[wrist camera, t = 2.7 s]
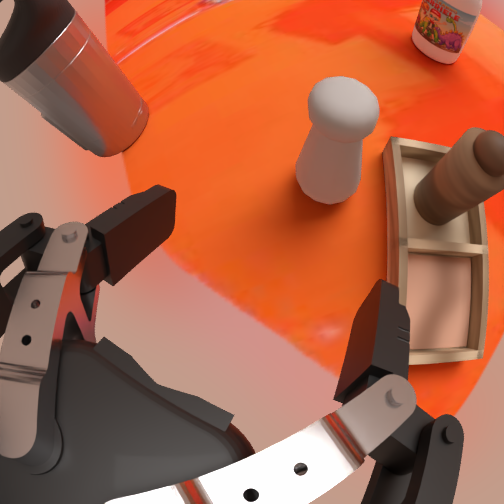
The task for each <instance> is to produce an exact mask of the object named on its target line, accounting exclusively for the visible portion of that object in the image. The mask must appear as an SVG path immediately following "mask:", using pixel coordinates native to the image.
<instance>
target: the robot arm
mask: <svg viewBox="0 0 504 504" xmlns="http://www.w3.org/2000/svg"><path fill="white" fill-rule="evenodd" d="M1 1H2V0H0V2H1ZM14 2H15V6H14V10H13V13H12V16H11V18H10V21H9V23H8V25H7V27H6V29H5V31H4V33H3V34H2V36H1V38H0V81H2V82H3V83H4V84H6V85H7V86H8V87H9V88H11V89H12V90H14V91H15V92H16V93H17V94H18V95H20V96H21V97H22V98H24V99H25V100H26V101H27V102H29V103H30V104H31V105H32V106H34V107H35V108H36V109H37V110H39V111H40V112H41V116H42V117H43V118H44V119H45V120H46V121H48V122H49V123H50V124H51V125H53V126H54V127H56V128H57V129H58V130H59V131H61V132H62V133H63V134H65V135H66V136H67V137H69V138H70V139H71V140H72V141H74V142H75V143H77V144H78V145H79V146H81V147H82V148H83V149H85V150H90V151H91V152H93V153H94V154H95V155H97V156H100V157H110V156H113V155H116V154H118V153H120V152H122V151H123V150H125V149H126V148H128V147H129V146H130V145H131V144H132V143H133V142H134V141H135V140H136V139H137V138H138V137H139V135H140V134H141V132H142V131H143V129H144V127H145V125H146V123H147V120H148V107H147V104H146V103H145V101H144V100H143V99H142V97H141V96H140V95H139V93H138V92H137V91H136V89H135V88H134V87H133V85H132V84H131V83H130V81H129V80H128V79H127V77H126V76H125V75H124V73H123V72H122V71H121V69H120V68H119V67H118V65H117V64H116V63H115V61H114V60H113V59H112V58H111V56H110V55H109V54H108V52H107V51H106V50H105V49H104V47H103V46H102V44H101V43H100V42H99V40H98V39H97V38H96V37H95V35H94V34H93V33H92V32H91V30H90V29H89V28H88V26H87V25H86V24H85V23H84V21H83V20H82V18H81V17H80V16H79V15H78V13H77V12H76V11H75V10H74V8H73V7H72V6H71V4H70V3H69V2H68V1H67V0H14ZM175 209H176V192H175V191H174V190H171V189H169V188H166V187H164V186H161V185H155V186H153V187H151V188H150V189H148V190H146V191H145V192H141V193H137V194H134V195H131V196H129V197H127V198H126V199H124V200H122V201H121V203H118V204H116V205H114V206H113V208H110V209H108V210H106V211H105V212H103V213H102V214H100V215H99V216H97V217H96V218H94V219H93V220H91V221H90V222H88V223H87V224H85V225H84V224H83V223H80V222H69V223H65V224H63V225H61V226H59V227H58V228H56V229H53V228H49V227H45V226H44V222H43V218H42V216H41V215H40V214H38V213H28V214H25V215H23V216H21V217H19V218H18V219H16V220H15V221H14V222H12V223H11V224H9V225H8V226H7V227H5V228H4V229H3V230H1V231H0V275H1V273H2V272H3V270H4V269H5V268H7V267H8V266H9V265H10V264H11V263H12V262H14V261H15V260H16V259H17V258H18V257H19V256H21V258H22V261H23V263H24V266H25V268H24V269H23V270H22V271H21V272H20V273H19V274H18V275H17V276H15V277H14V278H13V279H12V280H11V281H10V282H9V283H8V284H7V285H6V286H5V287H2V286H1V283H0V338H1V336H2V335H3V334H4V333H5V335H4V339H3V343H2V347H1V352H0V504H307V503H309V502H311V501H312V500H314V499H315V498H317V497H318V496H320V495H322V494H323V493H325V492H326V491H327V490H329V489H331V488H332V487H333V486H335V485H336V484H338V483H339V482H340V481H342V480H343V479H345V477H347V476H349V475H350V474H351V473H352V472H354V471H355V470H356V469H358V468H359V467H360V466H361V465H362V464H363V463H364V458H365V457H366V456H367V455H369V456H370V457H371V458H373V459H374V460H376V463H375V466H374V469H373V472H372V475H371V478H370V481H369V484H368V486H367V489H366V492H365V494H364V497H363V500H362V502H361V504H452V503H453V499H454V495H455V490H456V486H457V481H458V476H459V470H460V464H461V457H462V450H463V441H464V433H463V429H462V426H461V424H460V423H459V421H458V420H457V419H456V418H455V417H454V416H452V415H449V414H445V415H442V416H440V417H438V418H436V419H434V418H433V417H431V416H430V415H429V414H427V413H426V412H425V411H423V410H422V409H421V408H420V407H418V406H417V405H416V394H415V391H414V389H413V387H412V385H411V384H410V383H409V382H408V368H409V352H410V344H409V342H410V317H409V314H408V312H407V309H406V306H404V305H401V304H399V287H397V286H395V285H393V284H391V283H388V282H386V281H384V280H382V279H379V280H378V281H377V282H376V284H375V285H374V287H373V288H372V290H371V291H370V293H369V294H368V296H367V297H366V299H365V300H364V302H363V303H362V305H361V306H360V308H359V310H358V311H357V314H356V316H355V318H354V321H353V325H352V329H351V334H350V338H349V342H348V347H347V351H346V355H345V359H344V363H343V367H342V370H341V374H340V378H339V381H338V385H337V389H336V392H335V395H334V399H333V400H335V401H338V402H341V403H343V404H342V407H341V408H339V409H338V410H336V411H335V412H333V413H330V414H328V415H326V416H325V417H323V418H321V419H320V420H318V421H316V422H315V423H313V424H311V425H310V426H308V427H306V428H305V429H303V430H301V431H299V432H298V433H296V434H294V435H293V436H290V437H288V438H286V439H285V440H283V441H281V442H279V443H277V444H275V445H273V446H271V447H269V448H267V449H265V450H263V451H261V452H259V453H257V454H256V453H255V451H254V449H253V447H252V446H251V444H250V442H249V441H248V440H247V438H246V437H245V436H244V435H243V434H242V433H241V432H240V431H239V429H238V428H236V427H235V426H234V425H233V424H231V423H230V422H231V420H232V418H233V416H234V415H233V414H231V413H229V412H227V411H225V410H223V409H221V408H219V407H217V406H215V405H213V404H211V403H209V402H207V401H205V400H203V399H201V398H200V397H197V396H194V395H190V394H187V393H183V392H180V391H176V390H173V389H170V388H167V387H164V386H161V385H159V384H157V383H156V382H154V381H153V380H152V378H150V376H148V374H147V373H146V372H145V371H144V370H143V369H142V368H141V367H140V365H139V364H138V363H137V362H136V361H135V360H134V359H133V358H132V356H131V355H129V354H128V353H126V352H125V351H123V350H122V349H121V348H119V347H118V346H116V345H115V344H113V343H112V342H111V341H109V340H108V339H107V338H105V337H103V338H102V339H101V341H99V343H96V338H95V320H96V312H97V304H98V298H99V291H100V286H99V283H100V282H101V281H102V280H105V281H106V282H108V283H109V284H110V285H112V286H114V285H115V284H116V283H117V282H118V281H120V280H121V279H122V278H123V277H124V276H125V275H126V274H127V273H128V272H130V271H131V270H132V269H133V268H134V267H135V266H136V265H137V264H139V263H140V262H141V261H142V260H143V259H144V258H145V257H147V256H148V255H149V254H150V253H151V252H152V251H154V250H155V249H156V248H157V247H158V246H159V245H161V244H162V243H163V242H164V241H165V240H167V239H168V238H169V236H170V235H171V233H172V231H173V229H174V225H175Z"/></svg>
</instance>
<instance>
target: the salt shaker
mask: <svg viewBox="0 0 504 504" xmlns="http://www.w3.org/2000/svg"><path fill="white" fill-rule="evenodd" d="M308 110H309V118H310V120H311V122H312V123H313V125H312V128H311V130H310V132H309V134H308V137H307V139H306V141H305V144H304V146H303V148H302V151H301V153H300V155H299V158H298V160H297V162H296V179H297V181H298V183H299V185H300V187H301V189H302V191H303V193H305V194H306V195H308V196H309V197H310V198H312V199H313V200H315V201H317V202H321V203H325V204H329V205H330V204H334V203H339V202H344V201H345V200H346V199H347V198H349V197H350V196H351V195H353V194H354V193H355V192H356V190H357V187H358V185H359V182H360V180H361V165H362V141H363V139H364V138H365V137H367V136H368V135H369V134H371V133H372V132H373V130H374V128H375V125H376V123H377V120H378V117H379V105H378V101H377V97H376V96H375V95H374V94H373V93H372V91H371V90H370V89H369V88H368V87H367V86H366V85H364V84H362V83H361V82H359V81H357V80H356V79H352V78H348V77H343V76H339V77H329V78H325V79H323V80H322V81H320V82H318V83H316V84H315V86H314V87H313V89H312V91H311V92H310V94H309V97H308Z"/></svg>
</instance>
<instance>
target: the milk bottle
mask: <svg viewBox="0 0 504 504" xmlns="http://www.w3.org/2000/svg"><path fill="white" fill-rule="evenodd" d="M481 7H482V0H423V1H422V4H421V7H420V10H419V14H418V17H417V20H416V23H415V26H414V29H413V33H412V40H413V42H414V44H415V45H416V47H417V48H418V49H419V50H420V51H421V52H423V53H424V54H425V55H427V56H428V57H430V58H432V59H434V60H435V61H438V62H441V63H445V64H451V63H454V62H455V61H456V60H457V59H458V57H459V55H460V53H461V51H462V49H463V48H464V46H465V44H466V42H467V40H468V38H469V36H470V34H471V32H472V30H473V27H474V25H475V23H476V21H477V19H478V16H479V14H480V11H481Z"/></svg>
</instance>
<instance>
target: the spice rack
mask: <svg viewBox="0 0 504 504" xmlns="http://www.w3.org/2000/svg"><path fill="white" fill-rule="evenodd" d="M450 149H451V148H450V147H446V146H441V145H436V144H431V143H426V142H421V141H416V140H410V139H404V138H398V137H390V139H389V141H388V143H387V144H386V146H385V148H384V150H383V152H382V154H383V164H384V175H385V188H386V205H387V282H388V283H391V284H393V285H395V286H397V287H399V304H401V305H404V306H406V309H407V312H408V314H409V317H410V342H409V344H410V352H409V365H415V364H432V363H444V362H455V361H465V360H473V359H481V358H483V352H484V345H485V336H486V327H487V314H488V294H489V260H488V240H487V228H486V218H485V210H484V202H482V203H480V204H479V205H477V206H475V207H474V208H472V209H470V210H468V211H467V212H465V213H463V214H462V215H460V216H458V217H456V218H455V219H453V220H451V221H449V222H448V223H446V224H444V225H440V226H437V225H432V224H430V223H428V222H427V221H425V220H424V219H423V218H422V217H421V216H420V214H419V213H418V211H417V209H416V207H415V203H414V190H415V187H416V186H417V184H418V183H419V182H420V181H421V180H422V179H423V178H424V177H425V176H426V175H427V174H428V173H429V172H430V171H431V169H432V168H433V167H434V166H435V165H436V164H437V163H438V162H439V161H440V160H441V159H442V158H443V157H444V155H445V154H446V153H447V152H448V151H449V150H450Z"/></svg>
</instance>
